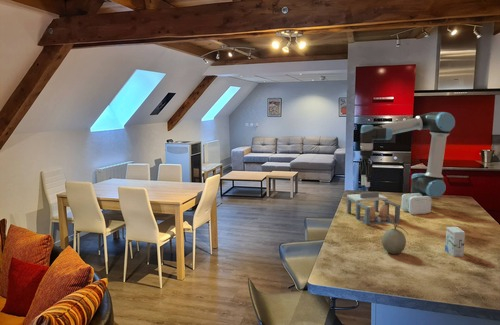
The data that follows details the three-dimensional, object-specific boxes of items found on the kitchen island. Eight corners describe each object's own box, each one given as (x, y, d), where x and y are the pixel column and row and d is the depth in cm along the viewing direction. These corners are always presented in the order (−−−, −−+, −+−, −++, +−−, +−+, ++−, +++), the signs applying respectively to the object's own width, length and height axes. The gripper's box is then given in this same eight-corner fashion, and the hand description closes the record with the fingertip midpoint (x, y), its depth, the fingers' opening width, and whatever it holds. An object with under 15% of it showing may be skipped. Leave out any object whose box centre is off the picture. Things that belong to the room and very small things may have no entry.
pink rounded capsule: (384, 218, 238) (385, 204, 236) (388, 220, 233) (389, 206, 232) (377, 219, 237) (378, 204, 236) (381, 221, 232) (382, 206, 231)
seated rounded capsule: (372, 219, 236) (373, 205, 235) (376, 221, 232) (376, 207, 230) (365, 220, 235) (366, 205, 234) (369, 222, 231) (369, 207, 230)
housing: (376, 211, 256) (377, 195, 254) (399, 223, 229) (400, 205, 228) (346, 213, 252) (347, 197, 250) (366, 226, 226) (366, 207, 224)
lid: (376, 194, 255) (376, 188, 254) (387, 199, 241) (388, 193, 240) (347, 196, 251) (347, 190, 250) (356, 201, 237) (356, 194, 237)
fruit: (405, 259, 176) (406, 227, 174) (379, 254, 182) (380, 223, 180) (409, 251, 185) (410, 221, 183) (384, 247, 191) (385, 218, 189)
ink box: (444, 249, 187) (445, 226, 185) (454, 249, 187) (456, 226, 185) (453, 256, 178) (454, 232, 177) (464, 256, 178) (465, 231, 176)
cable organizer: (421, 209, 259) (422, 192, 258) (431, 213, 249) (432, 196, 247) (400, 211, 256) (401, 194, 255) (410, 215, 246) (411, 197, 245)
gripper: (354, 148, 252) (353, 183, 255) (367, 151, 235) (366, 189, 238) (365, 148, 253) (364, 183, 257) (379, 150, 236) (378, 188, 239)
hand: (365, 185), depth 247 cm, fingers open, 5 cm apart
